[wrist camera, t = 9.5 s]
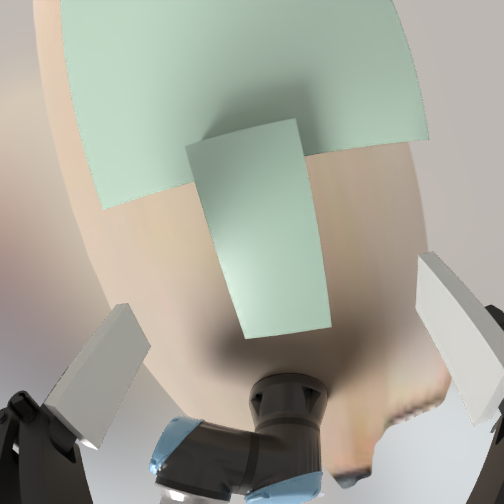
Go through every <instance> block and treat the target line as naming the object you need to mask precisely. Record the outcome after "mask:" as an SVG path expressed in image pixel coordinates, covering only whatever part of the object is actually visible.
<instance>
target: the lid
mask: <svg viewBox="0 0 504 504" xmlns="http://www.w3.org/2000/svg"><path fill="white" fill-rule="evenodd" d="M60 4H61V22H62V34H63V44H64V52H65V60H66V67H67V73H68V79H69V85H70V90H71V96H72V101H73V106H74V110H75V115H76V119H77V123H78V128H79V132H80V136H81V140H82V143H83V147H84V151H85V154H86V158H87V161H88V165H89V168H90V172H91V175H92V178H93V181H94V184H95V187H96V191H97V194H98V197H99V199H100V202H101V205H102V208H103V210H105V209H108V208H111V207H114V206H116V205H119V204H122V203H125V202H128V201H131V200H134V199H138V198H141V197H144V196H147V195H150V194H153V193H157V192H160V191H163V190H167V189H170V188H173V187H177V186H180V185H184V184H187V183H191V182H195V184H196V188H197V191H198V194H199V198H200V201H201V204H202V208H203V211H204V214H205V218H206V221H207V224H208V227H209V230H210V234H211V237H212V240H213V243H214V246H215V249H216V253H217V256H218V259H219V262H220V265H221V268H222V271H223V274H224V277H225V280H226V283H227V286H228V289H229V292H230V295H231V298H232V301H233V304H234V307H235V310H236V313H237V316H238V319H239V322H240V325H241V328H242V330H243V333H244V336H245V339H250V338H259V337H267V336H275V335H282V334H290V333H296V332H303V331H310V330H316V329H322V328H328V327H332V326H331V317H330V308H329V300H328V292H327V285H326V277H325V270H324V263H323V256H322V250H321V244H320V237H319V231H318V226H317V220H316V214H315V209H314V203H313V198H312V193H311V187H310V182H309V177H308V173H307V168H306V163H305V158H304V156H309V155H314V154H320V153H326V152H332V151H338V150H344V149H351V148H358V147H365V146H373V145H381V144H389V143H398V142H408V141H419V140H429V134H428V127H427V121H426V115H425V110H424V104H423V99H422V95H421V90H420V86H419V82H418V77H417V74H416V70H415V66H414V62H413V59H412V55H411V52H410V48H409V45H408V42H407V39H406V36H405V33H404V30H403V28H402V25H401V22H400V19H399V17H398V14H397V11H396V9H395V6H394V4H393V1H392V0H60Z"/></svg>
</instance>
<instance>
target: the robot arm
mask: <svg viewBox="0 0 504 504" xmlns="http://www.w3.org/2000/svg"><path fill="white" fill-rule="evenodd" d="M415 309H416V311H417V313H418V315H419V316H420V318H421V320H422V321H423V323H424V325H425V327H426V329H427V330H428V332H429V334H430V336H431V338H432V339H433V341H434V343H435V345H436V347H437V349H438V351H439V353H440V354H441V356H442V358H443V360H444V362H445V364H446V366H447V368H448V370H449V372H450V374H451V376H452V379H453V381H454V383H455V385H456V387H457V389H458V391H459V394H460V396H461V398H462V400H463V403H464V405H465V407H466V410H467V412H468V414H469V417H470V419H471V422H472V424H473V426H476V425H478V424H480V423H483V422H485V421H487V420H489V419H491V418H492V417H493V415H494V413H495V412H496V411H497V409H498V408H499V410H500V412H501V414H502V415H501V416H500V418H499V419H498V421H497V422H496V423H495V425H494V426H493V428H492V430H491V433H493V432H494V430H495V429H496V431H495V434H494V437H493V440H492V443H491V446H490V449H489V452H488V455H487V458H486V460H485V463H484V465H483V468H482V470H481V472H480V475H479V477H478V479H477V482H476V484H475V486H474V488H473V491H472V492H471V494H470V496H469V499H468V500H467V503H466V504H504V313H503V311H501V310H500V309H498V308H496V307H495V306H493V305H489V306H486V307H484V306H483V305H482V304H481V303H480V302H479V300H478V299H477V298H476V297H475V296H474V294H473V293H472V292H471V291H470V290H469V289H468V288H467V287H466V285H465V284H464V283H463V282H462V281H461V280H460V279H459V278H458V277H457V276H456V274H455V273H454V272H453V271H452V270H451V269H450V268H449V267H448V266H447V265H446V264H445V263H444V262H443V261H442V260H441V259H440V258H439V257H438V256H437V255H436V254H435V253H434V252H429V253H425V254H420V255H418V274H417V293H416V306H415ZM150 347H151V345H150V343H149V342H148V340H147V338H146V336H145V334H144V333H143V331H142V329H141V327H140V325H139V323H138V321H137V319H136V317H135V315H134V314H133V312H132V310H131V308H130V306H129V304H128V303H126V304H118V305H116V306H115V307H114V309H113V310H112V311H111V312H110V314H109V315H108V316H107V317H106V319H105V320H104V321H103V322H102V324H101V325H100V326H99V328H98V329H97V330H96V331H95V333H94V334H93V335H92V336H91V338H90V339H89V340H88V342H87V343H86V344H85V346H84V347H83V349H82V350H81V351H80V352H79V354H78V355H77V356H76V358H75V359H74V361H73V362H72V363H71V365H70V366H69V367H68V368H67V369H66V371H65V372H64V373H63V375H62V377H61V378H60V379H59V381H58V383H57V384H56V385H55V386H54V388H53V389H52V391H51V392H50V394H49V395H48V397H47V398H46V400H45V401H44V403H43V404H42V405H41V407H39V406H38V405H37V403H36V402H35V401H34V400H33V399H32V397H31V396H30V395H29V394H28V393H27V392H26V391H19V392H17V393H16V394H15V395H13V397H11V399H10V400H9V402H8V405H7V407H6V408H3V409H1V410H0V504H93V501H92V498H91V495H90V491H89V487H88V483H87V480H86V476H85V471H84V467H83V463H82V458H81V454H80V449H79V446H78V444H76V443H75V441H76V439H77V438H78V439H79V440H80V441H81V442H82V443H84V445H86V446H88V447H91V448H95V449H97V450H99V448H100V446H101V444H102V441H103V439H104V437H105V435H106V433H107V431H108V429H109V427H110V425H111V423H112V421H113V419H114V417H115V415H116V413H117V411H118V409H119V407H120V405H121V403H122V401H123V399H124V397H125V395H126V393H127V391H128V389H129V387H130V385H131V383H132V381H133V379H134V377H135V375H136V374H137V372H138V370H139V368H140V366H141V364H142V362H143V360H144V358H145V357H146V355H147V353H148V351H149V349H150ZM249 406H250V410H251V414H252V418H253V421H254V425H255V433H254V432H249V431H244V430H239V429H234V428H230V427H225V426H221V425H217V424H213V423H209V422H206V421H205V420H203V419H201V420H198V419H193V418H189V417H185V416H178V417H175V418H174V419H172V420H171V421H170V423H169V424H168V425H167V427H166V428H165V430H164V432H163V433H162V435H161V437H160V439H159V441H158V443H157V445H156V447H155V450H154V452H153V455H152V459H151V462H150V464H149V470H150V471H151V472H152V473H153V474H154V475H157V478H156V482H155V485H156V487H157V488H158V490H159V491H160V493H161V496H162V497H161V501H160V504H228V503H229V502H230V498H231V494H232V493H234V494H240V495H245V498H244V499H245V500H246V503H247V504H300V503H304V502H307V501H309V500H312V499H313V498H315V497H316V496H317V495H318V494H319V492H320V490H321V478H322V467H321V444H320V425H321V422H322V419H323V416H324V413H325V409H326V406H327V392H326V389H325V387H324V385H323V384H322V383H321V382H319V381H318V380H316V379H314V378H312V377H309V376H306V375H301V374H279V375H274V376H270V377H267V378H265V379H262V380H261V381H259V382H258V383H256V384H255V385H254V386H253V388H252V389H251V392H250V399H249ZM13 444H15V445H16V446H17V447H18V448H19V454H18V453H16V452H15V451H14V450H13V449H12V448H13Z"/></svg>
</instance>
